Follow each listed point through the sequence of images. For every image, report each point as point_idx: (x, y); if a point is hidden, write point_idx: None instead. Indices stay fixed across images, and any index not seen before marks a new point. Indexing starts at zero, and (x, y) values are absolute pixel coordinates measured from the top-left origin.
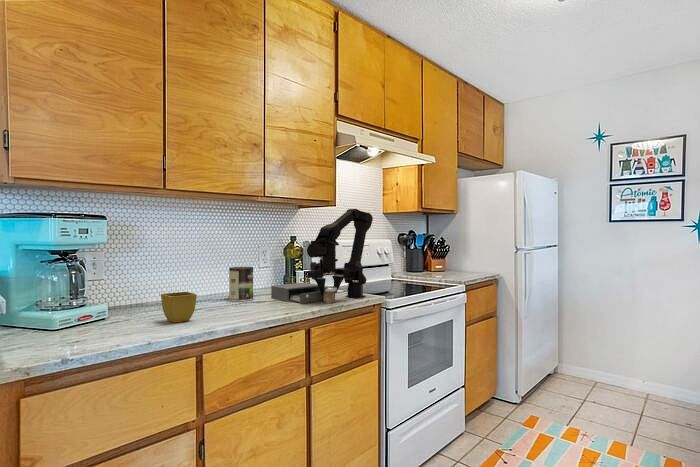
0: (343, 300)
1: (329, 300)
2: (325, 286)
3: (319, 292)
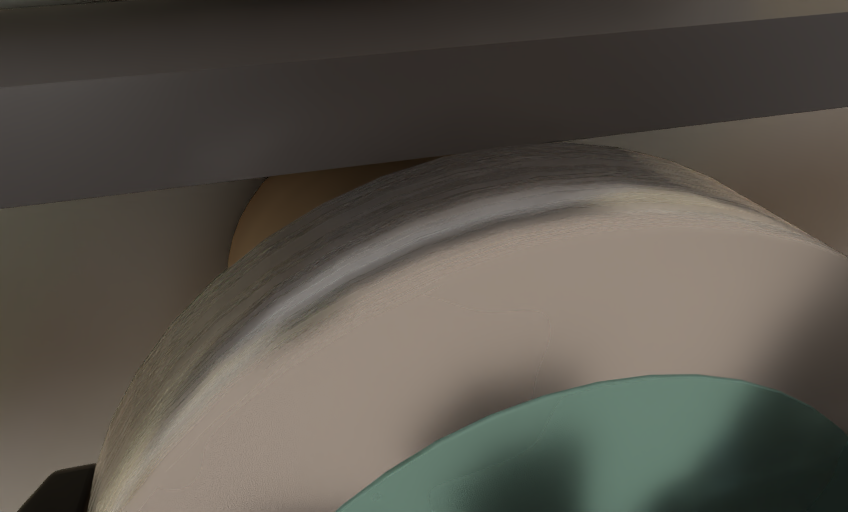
0: (844, 216)
1: None
2: (596, 423)
3: (146, 174)
